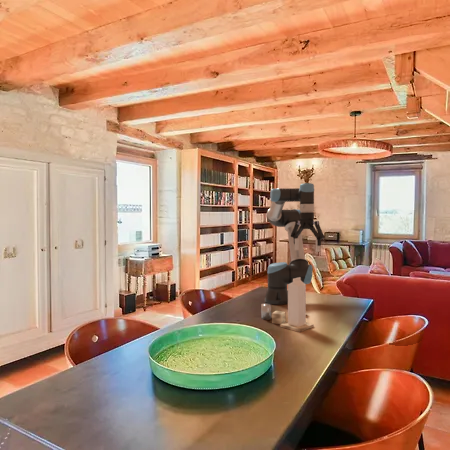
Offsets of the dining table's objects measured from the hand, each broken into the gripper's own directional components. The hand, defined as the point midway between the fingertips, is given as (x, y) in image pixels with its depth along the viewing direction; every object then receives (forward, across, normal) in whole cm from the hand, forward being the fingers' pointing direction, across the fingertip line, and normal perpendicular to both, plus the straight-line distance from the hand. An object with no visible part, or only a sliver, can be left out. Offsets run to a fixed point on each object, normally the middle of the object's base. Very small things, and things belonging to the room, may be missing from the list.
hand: (306, 251), depth 202 cm
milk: (+32, +14, -28) cm, 44 cm away
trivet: (+33, +14, -28) cm, 45 cm away
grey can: (+33, -6, -27) cm, 43 cm away
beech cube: (+33, +3, -28) cm, 43 cm away
